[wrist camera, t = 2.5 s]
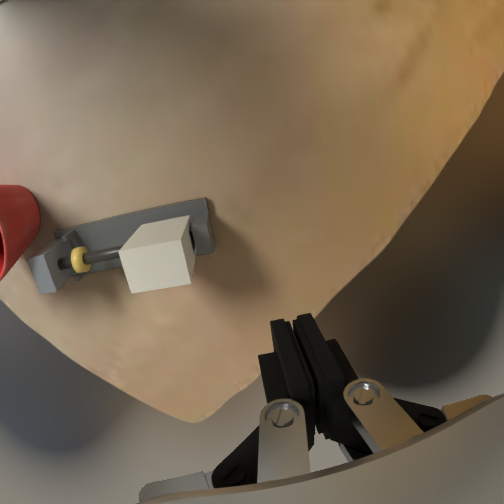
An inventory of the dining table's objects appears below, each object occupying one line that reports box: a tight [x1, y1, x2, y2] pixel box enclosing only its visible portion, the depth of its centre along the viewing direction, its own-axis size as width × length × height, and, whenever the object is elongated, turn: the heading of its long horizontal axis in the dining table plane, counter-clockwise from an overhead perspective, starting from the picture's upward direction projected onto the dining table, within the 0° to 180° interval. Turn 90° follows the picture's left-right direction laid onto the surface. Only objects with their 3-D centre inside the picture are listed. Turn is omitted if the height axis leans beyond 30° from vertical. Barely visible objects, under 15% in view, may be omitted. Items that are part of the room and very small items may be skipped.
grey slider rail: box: [27, 197, 215, 294], centre depth 28 cm, size 19×6×7 cm, turn 98°
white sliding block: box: [118, 215, 196, 293], centre depth 25 cm, size 5×4×8 cm
